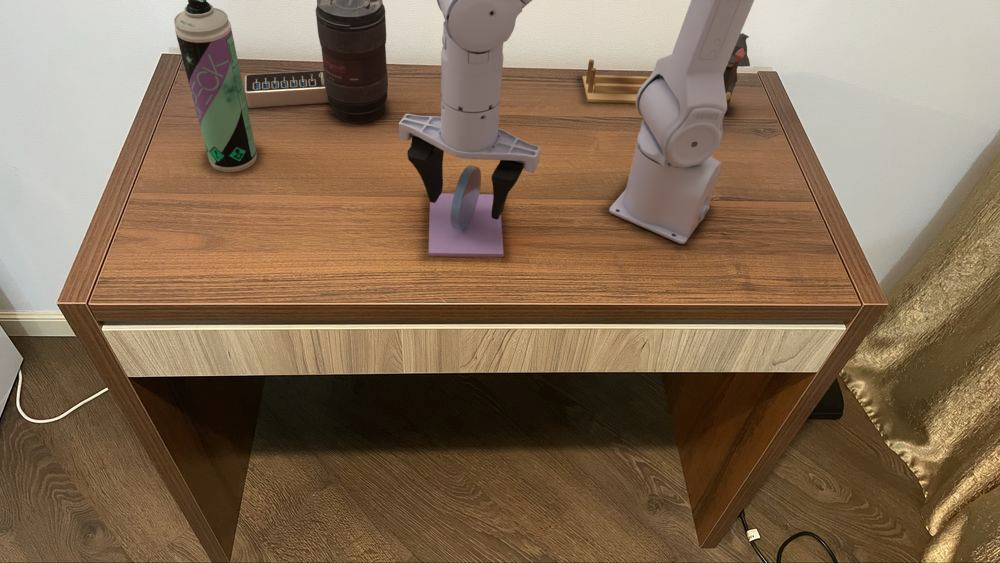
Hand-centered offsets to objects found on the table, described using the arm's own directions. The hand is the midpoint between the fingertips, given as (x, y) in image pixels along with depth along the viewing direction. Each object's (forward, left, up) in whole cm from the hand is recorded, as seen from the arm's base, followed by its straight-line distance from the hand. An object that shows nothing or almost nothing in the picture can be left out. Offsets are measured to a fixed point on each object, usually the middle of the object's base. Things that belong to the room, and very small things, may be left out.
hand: (466, 205), depth 82 cm
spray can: (+29, +7, -3) cm, 30 cm away
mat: (0, 0, -3) cm, 3 cm away
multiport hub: (+33, -7, -3) cm, 34 cm away
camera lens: (+24, -10, -3) cm, 26 cm away
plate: (0, 0, +1) cm, 1 cm away
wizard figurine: (-15, -39, -3) cm, 42 cm away
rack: (-2, -36, -3) cm, 37 cm away
